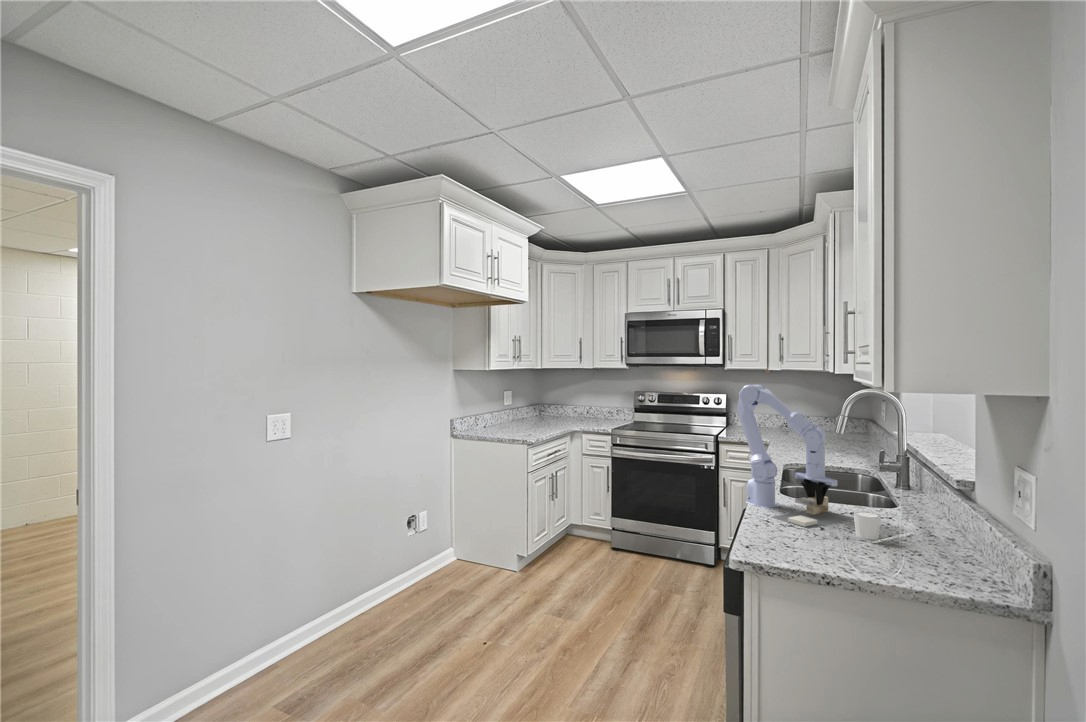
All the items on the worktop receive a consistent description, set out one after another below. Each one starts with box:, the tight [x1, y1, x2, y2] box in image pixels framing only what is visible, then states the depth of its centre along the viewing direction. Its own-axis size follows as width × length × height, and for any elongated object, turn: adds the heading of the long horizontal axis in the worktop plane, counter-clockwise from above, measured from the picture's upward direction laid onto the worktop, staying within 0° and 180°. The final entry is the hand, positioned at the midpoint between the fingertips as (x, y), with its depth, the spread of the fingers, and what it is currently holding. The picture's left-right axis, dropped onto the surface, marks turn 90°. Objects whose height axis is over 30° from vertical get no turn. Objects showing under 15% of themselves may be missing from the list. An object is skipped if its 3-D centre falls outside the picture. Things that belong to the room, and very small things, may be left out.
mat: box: [770, 509, 854, 530], centre depth 172 cm, size 14×24×1 cm, turn 117°
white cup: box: [853, 511, 882, 542], centre depth 153 cm, size 7×7×7 cm
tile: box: [787, 515, 817, 528], centre depth 166 cm, size 6×1×6 cm
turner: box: [794, 495, 829, 515], centre depth 178 cm, size 12×5×5 cm, turn 117°
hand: (815, 503), depth 178 cm, fingers closed on turner, 2 cm apart
